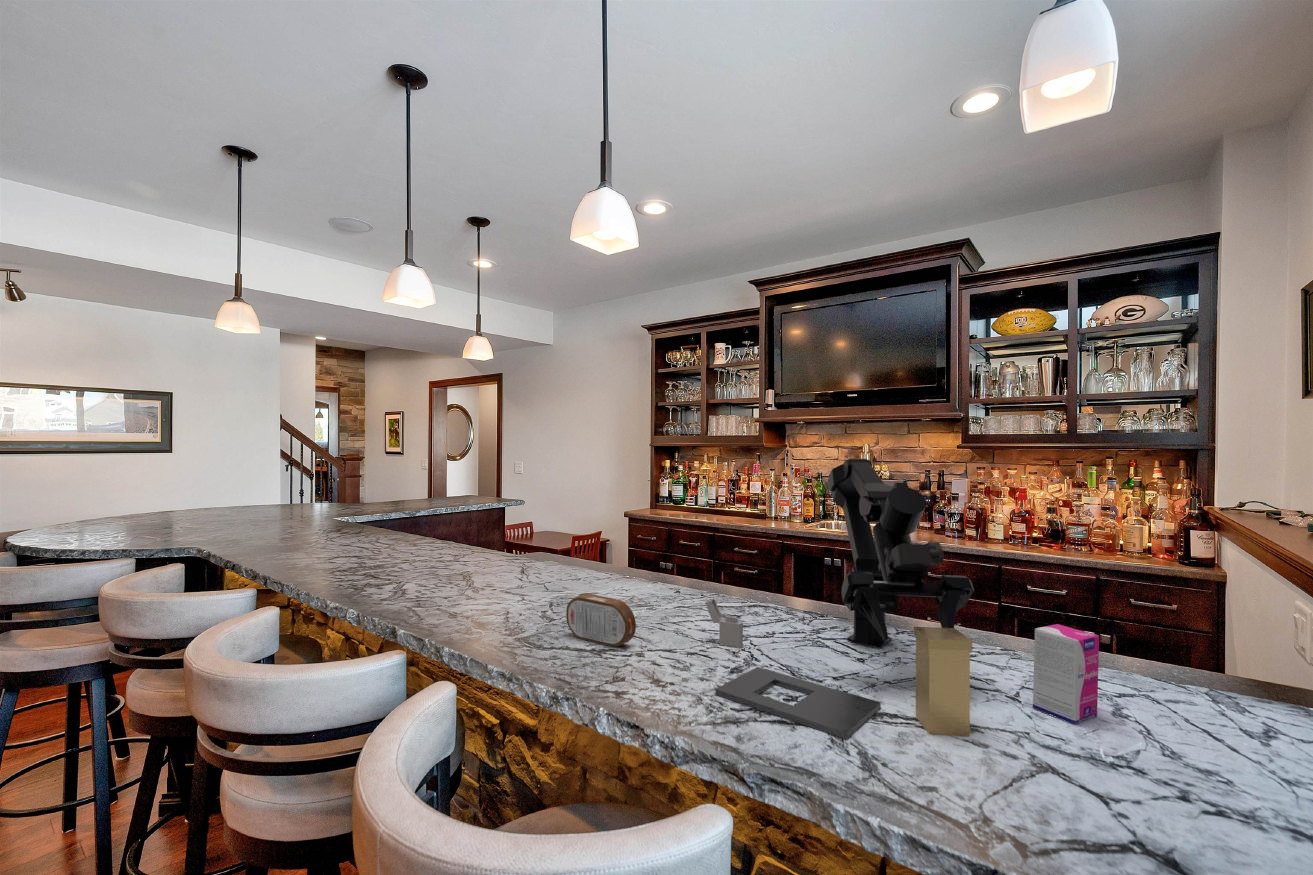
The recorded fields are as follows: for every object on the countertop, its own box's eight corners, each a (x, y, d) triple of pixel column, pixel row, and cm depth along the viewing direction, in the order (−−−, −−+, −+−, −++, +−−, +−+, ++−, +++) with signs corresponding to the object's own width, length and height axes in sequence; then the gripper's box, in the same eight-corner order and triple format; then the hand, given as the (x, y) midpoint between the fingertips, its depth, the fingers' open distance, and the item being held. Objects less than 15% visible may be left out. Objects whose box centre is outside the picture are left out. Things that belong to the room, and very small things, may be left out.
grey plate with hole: (757, 671, 95) (757, 666, 96) (880, 707, 83) (880, 702, 83) (715, 694, 86) (715, 689, 86) (846, 739, 73) (846, 732, 73)
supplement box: (1077, 726, 78) (1076, 639, 78) (1031, 708, 83) (1031, 627, 83) (1100, 717, 80) (1100, 633, 81) (1054, 700, 86) (1054, 622, 86)
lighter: (743, 645, 108) (743, 602, 109) (739, 647, 107) (740, 604, 107) (708, 638, 112) (708, 597, 112) (704, 641, 110) (704, 599, 110)
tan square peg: (913, 715, 80) (913, 626, 80) (954, 717, 80) (954, 628, 80) (928, 734, 75) (928, 639, 75) (972, 737, 74) (972, 641, 75)
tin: (636, 647, 107) (637, 601, 107) (626, 652, 104) (627, 604, 104) (573, 632, 115) (574, 589, 115) (563, 636, 112) (563, 592, 112)
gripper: (846, 520, 92) (864, 610, 81) (970, 524, 90) (1004, 616, 79) (835, 560, 100) (849, 647, 89) (948, 564, 98) (977, 653, 87)
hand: (918, 640), depth 86 cm, fingers open, 9 cm apart
